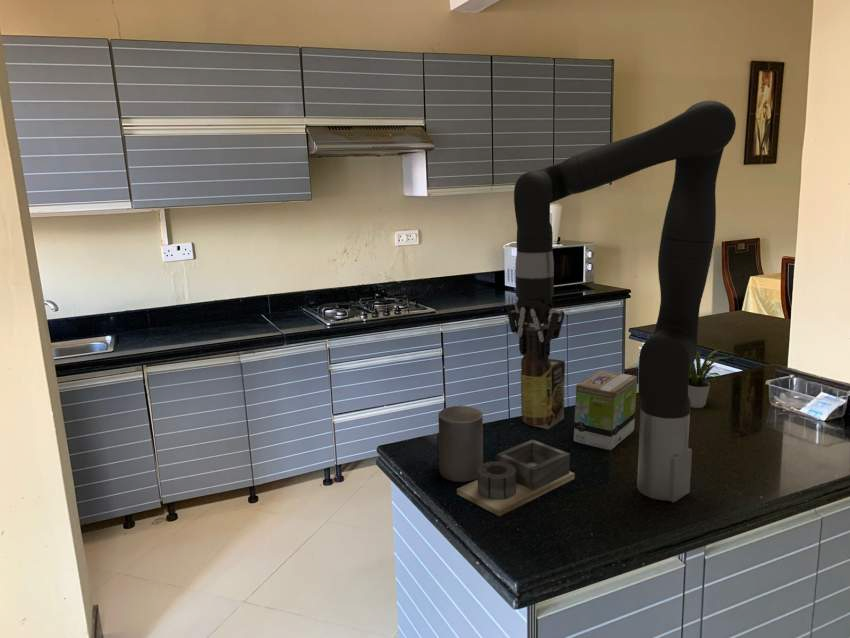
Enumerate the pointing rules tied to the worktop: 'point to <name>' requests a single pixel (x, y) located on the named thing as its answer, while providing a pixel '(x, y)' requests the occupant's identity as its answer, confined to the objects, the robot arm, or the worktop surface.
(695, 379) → the house plant
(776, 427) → the worktop surface
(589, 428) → the tea box
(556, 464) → the socket board
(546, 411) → the sauce bottle
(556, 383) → the coffee box
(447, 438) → the pillar candle
